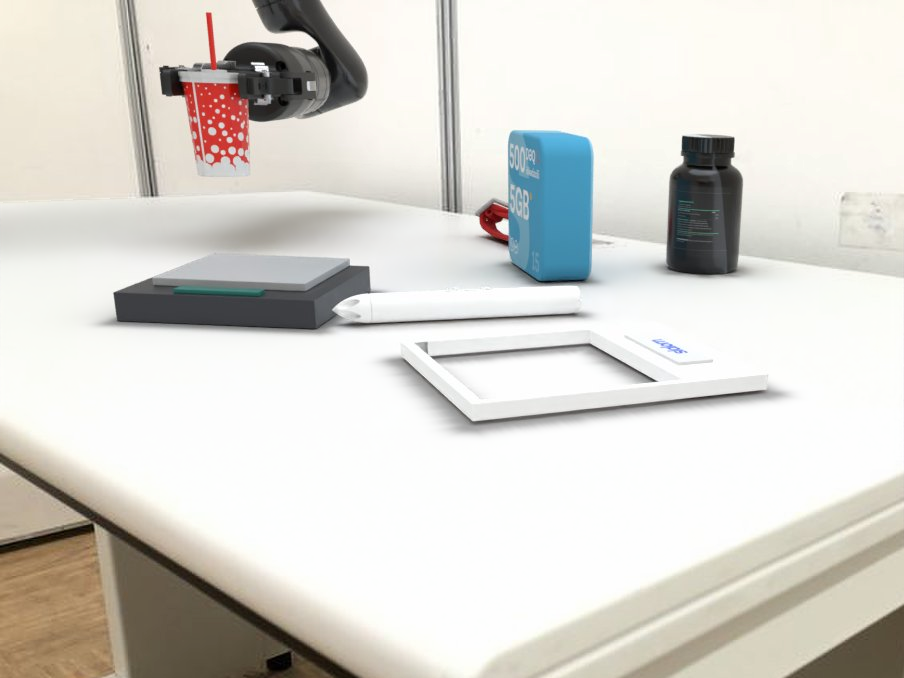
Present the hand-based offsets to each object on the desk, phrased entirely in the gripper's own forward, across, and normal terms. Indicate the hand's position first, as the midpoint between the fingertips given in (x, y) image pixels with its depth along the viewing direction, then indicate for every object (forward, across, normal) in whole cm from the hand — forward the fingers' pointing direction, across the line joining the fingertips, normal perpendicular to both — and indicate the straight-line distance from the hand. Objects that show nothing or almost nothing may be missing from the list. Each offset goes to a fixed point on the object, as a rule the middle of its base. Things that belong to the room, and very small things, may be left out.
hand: (205, 84), depth 98 cm
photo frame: (+37, +37, +15) cm, 55 cm away
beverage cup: (-2, 0, +8) cm, 9 cm away
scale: (+21, +11, +15) cm, 28 cm away
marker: (+23, +27, +15) cm, 39 cm away
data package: (+2, +31, +15) cm, 35 cm away
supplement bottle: (-3, +45, +15) cm, 48 cm away
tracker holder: (-16, +27, +15) cm, 35 cm away
